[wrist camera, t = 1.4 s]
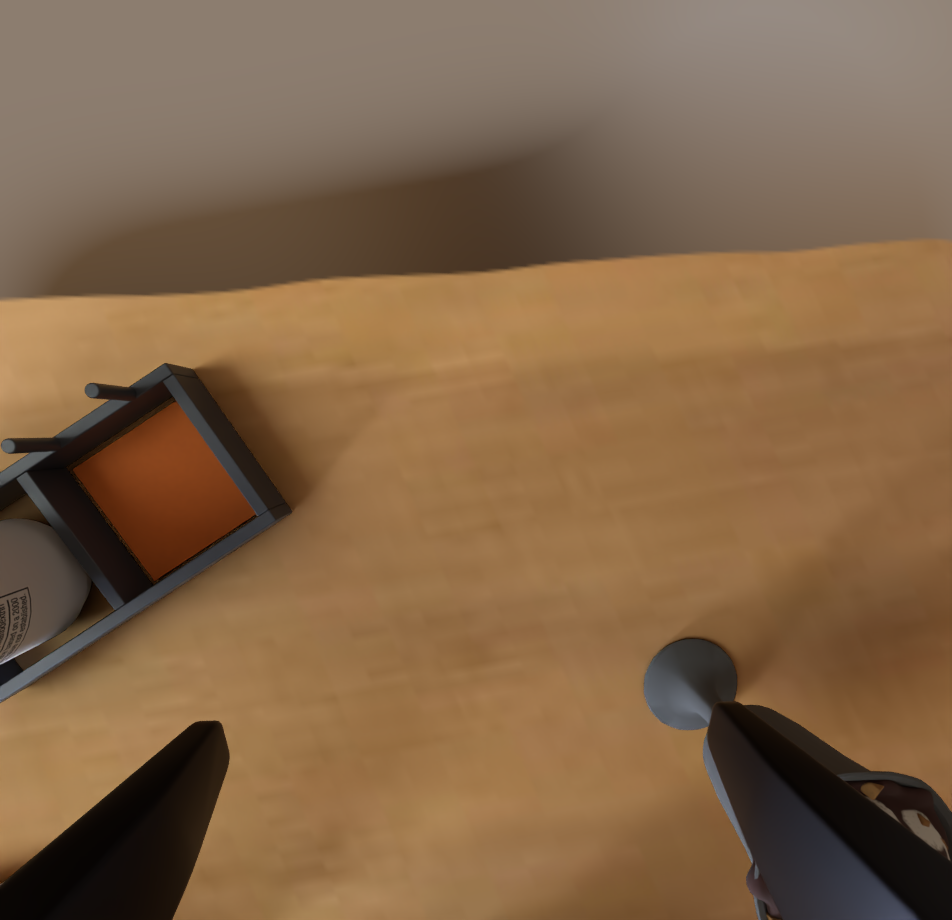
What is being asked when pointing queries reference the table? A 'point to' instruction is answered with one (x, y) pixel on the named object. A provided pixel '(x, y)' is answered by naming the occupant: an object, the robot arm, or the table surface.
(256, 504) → the dark grey divided frame
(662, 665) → the sundae
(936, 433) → the table surface
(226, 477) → the mat
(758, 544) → the table surface
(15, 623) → the energy drink can
